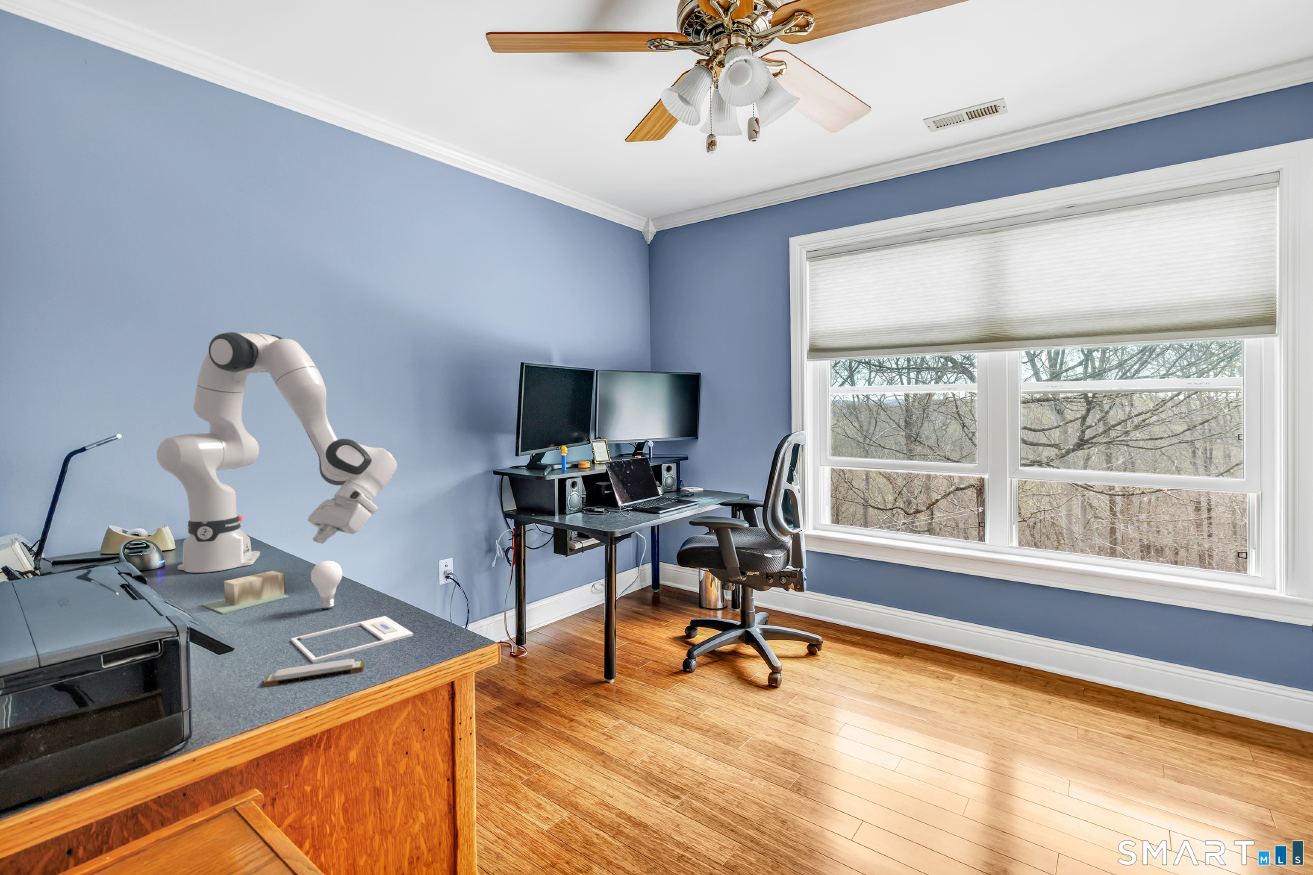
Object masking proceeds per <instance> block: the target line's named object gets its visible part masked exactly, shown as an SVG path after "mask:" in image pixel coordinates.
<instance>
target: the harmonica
mask: <svg viewBox="0 0 1313 875" xmlns="http://www.w3.org/2000/svg"><path fill="white" fill-rule="evenodd" d="M364 662H365V661H364V660H357V661H355V659H354V658H346V659H340V660H334V661H332V660H331V661H326V662H321V663H320V662H319V663H313V664H307V665H299V666H294V667H287V668H282V669H281V668H280V669H278V670H276V671H275V673H272V674H268V675H266V677H265V680H264V682H263V687H264V688H265V687H271V686H279V685H281V684H282V683H283V682H285V684H289V682H290V681H291V680H292V683H296V681H297V680H299V682H303V679H305V678H306V681H310V679H311V677H313V680H316V679H317V677H319V676H320V679H324V677H325V675H326V676H327V677H328V678H329V677H331V674H334V677H336V676H337V675H338V673H340V675H341V676H342V675H344V673H345V672H347V674H349V675H351V674H356V673H362V672H363V671H364V666H365V663H364Z"/></svg>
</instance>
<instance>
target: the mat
mask: <svg viewBox="0 0 1313 875" xmlns="http://www.w3.org/2000/svg"><path fill="white" fill-rule="evenodd" d="M287 598H290V595H287V594H286V593H285V594H281V595H277V596H272V597H268V598H264V599H260V600H256V601H252V602H248V603H244V604H240V605H236V606H234V605H231V604H229V603H226V602H225V598H222V599H218V600H214V601H208V602H205V603H202V604H201V606H203V607H205V608H207V609H209V610H212V611H215V612H217V613H219V614H227V613H231V612H235V611H236V612H237V611H240V610H243V609H247V608H252V607H256V606H260V605H263V604H267V603H271V602H276V601H279V600H283V599H287Z"/></svg>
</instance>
